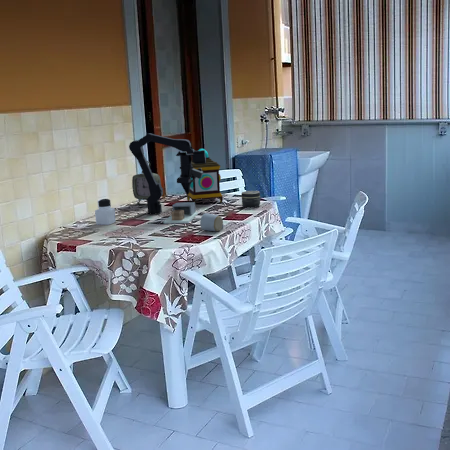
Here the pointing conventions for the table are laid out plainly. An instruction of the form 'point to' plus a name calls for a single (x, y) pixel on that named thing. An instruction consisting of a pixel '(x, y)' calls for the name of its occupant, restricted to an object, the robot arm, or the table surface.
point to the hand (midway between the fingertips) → (187, 194)
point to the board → (186, 220)
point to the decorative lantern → (206, 181)
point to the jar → (250, 199)
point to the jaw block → (177, 215)
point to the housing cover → (185, 207)
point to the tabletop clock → (142, 186)
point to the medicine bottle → (105, 213)
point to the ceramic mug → (211, 222)
